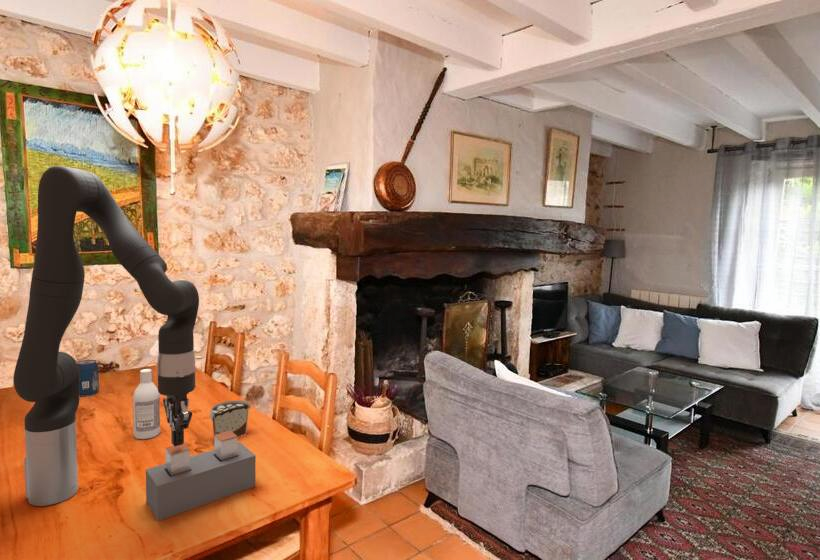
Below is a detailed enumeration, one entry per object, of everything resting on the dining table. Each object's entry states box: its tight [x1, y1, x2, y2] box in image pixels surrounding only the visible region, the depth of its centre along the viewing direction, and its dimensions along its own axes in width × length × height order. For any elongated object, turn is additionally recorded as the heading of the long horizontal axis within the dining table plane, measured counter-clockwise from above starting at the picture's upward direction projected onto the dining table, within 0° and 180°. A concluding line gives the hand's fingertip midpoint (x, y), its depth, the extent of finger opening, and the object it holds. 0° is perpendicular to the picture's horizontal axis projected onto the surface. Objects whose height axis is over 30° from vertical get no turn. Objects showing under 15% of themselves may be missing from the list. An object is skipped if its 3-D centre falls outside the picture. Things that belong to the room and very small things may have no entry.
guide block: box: [145, 442, 257, 522], centre depth 112 cm, size 22×9×8 cm, turn 133°
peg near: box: [164, 442, 191, 477], centre depth 107 cm, size 4×4×8 cm
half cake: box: [209, 400, 251, 438], centre depth 142 cm, size 12×6×10 cm, turn 141°
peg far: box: [213, 431, 238, 462], centre depth 115 cm, size 4×4×8 cm
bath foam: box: [132, 368, 161, 440], centre depth 140 cm, size 7×7×20 cm
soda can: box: [76, 359, 100, 397], centre depth 171 cm, size 7×7×12 cm
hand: (177, 444), depth 107 cm, fingers closed
